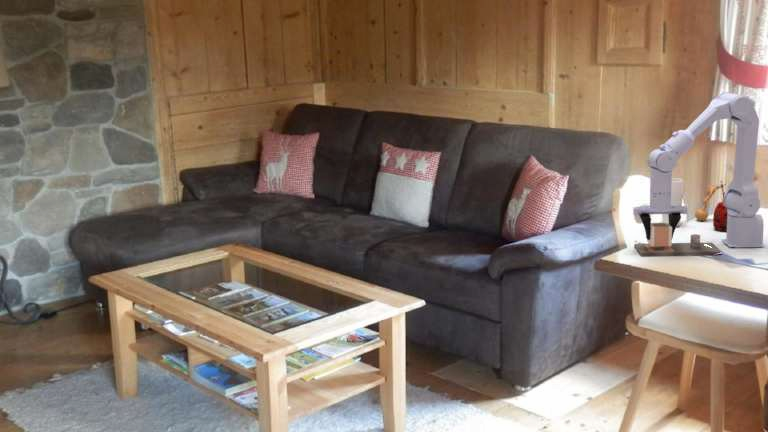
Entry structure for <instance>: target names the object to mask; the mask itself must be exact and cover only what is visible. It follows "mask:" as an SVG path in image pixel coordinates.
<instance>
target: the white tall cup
mask: <svg viewBox="0 0 768 432" xmlns="http://www.w3.org/2000/svg"><path fill="white" fill-rule="evenodd" d="M683 198H684V178H683V179H682V178H678V177H672V186H671V206H683V205H682V204H683ZM680 215H681V216H682V214H680ZM661 220H662V221H661V223H669V216H668V214H661ZM680 224H681V220H680V221H679V222H678V224H677V226H676V228H678V227H679V226H680Z"/></svg>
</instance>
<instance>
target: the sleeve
mask: <svg viewBox="0 0 768 432" xmlns="http://www.w3.org/2000/svg"><path fill="white" fill-rule="evenodd" d="M672 240H673V238H672V227H671V225H670V224H669V223H662V222H651V225H650V240H647V239H646V242H647V244H650V246H672V243H673V241H672Z"/></svg>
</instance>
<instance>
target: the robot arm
mask: <svg viewBox="0 0 768 432" xmlns="http://www.w3.org/2000/svg"><path fill="white" fill-rule="evenodd" d="M755 105H756V102H755V101H754V99H752V98H750V96H748V95H746V94H739V93H732V92H726V91H724V92H721V93H720V94H718V95H717V96H716V98H714V99H712V100H711V101H710V103H709V105H708V106H707V108H705V110H704V111H703V112H702V113H700V114H699V115H698V117H697V118H696V119H695V120H694V121H693V122H691V124H689V126H688V127H687V128H686V129H679V130H678V131H674V132H672V134H671V135H672V136H671V137H670V138H669V139H668V140H667V141H666V142H664V143H663V144H660V145H659V148H657V149H654V150H652V151H651V152H650V153H649V156H648V157H647V158H646V164H647V166H649V168H650V169H649V170H650V177H649V178H650V180H649V181H650V182H649V183H650V186H649V205H645V206H635V207H632V208H633V209H632V211H633V213H632V214H633V215H634V216H639V217H640V219H641V222H642V224H643V227H644V232H645V238H646V241H647V240H650V225H651V223H652V218H651V215H662V214H668V216H669V224H670V225H671V227H672V239H673V237H674V233H675V232H676V231H675V230H676V228H677V227H676V226H677V224H678V222H679V221H680V222H681V219H682V214H683V215H687V214H688V207H687V206H686V205H682V206H671V186H672V178H673V176H672V175H673V170H674V169H675V167H676V166H677V162H678V160H679V159H680V158H681V157H682V156H683V155H684V154H685V153H687V152H688V150H690V149H691V148H692V147H693V146H694V145H695V138H696V137H698V136H699V135H700V134H702V133H703V132H705V131H706V129H708V128H709V127H710V126H711V125H713V124H714V123H715V122H717V121H719V120H728V119H730V121H732V122H733V123H734V124H735V125H736V126H737V130H736V142H735V150H734V162H733V173H732V181H731V182H730V183H729V184H728V185H727V187H726V191H725V194H724V199H723V198H722V201H723V203H724V206H725V207H726V208H727V212H728V215H727V231H726V238H723V239H721V241H722V242H723V244H724V245H726V244H727V245H728V246H729V247H728V246H727V245H726V246H727V247H728V248H730V247H735V248H763V247H764V227H765V226H764V225H765V224H764V218H763V216H762V215H761V214H760V213H758V212H759V210H760V207H761V200H760V197H759V189H758V188H757V185H756V184H755V183H754V177H755V166H756V159H757V158H756V157H757V150H758V149H757V148H758V137H759V127H760V126H759V125H760V118H759V115H758V114H757V111H756V107H755ZM757 213H758V214H757ZM680 214H681V215H680Z"/></svg>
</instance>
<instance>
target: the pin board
mask: <svg viewBox="0 0 768 432" xmlns="http://www.w3.org/2000/svg"><path fill="white" fill-rule="evenodd" d="M689 241H690V242H672V246H650V244H649V243H633V245H634V246H633V247H634V249H635V250H636V251H637V253H638V254H639V256H640V257H670V256H671V257H680V256H681V257H683V256H684V257H688V256H690V257H691V256H697V257H698V256H715V255H714V254H717V253H720V252H722V253H723V250H721V249H720V248H718V246H717V245H715V244H714V243H713V242H701V235H700V234H696V233H693V234H690V240H689ZM704 244H707V245H709V246H711V247H712V248H710V247H708V246H707V247H706V246H704Z"/></svg>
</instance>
